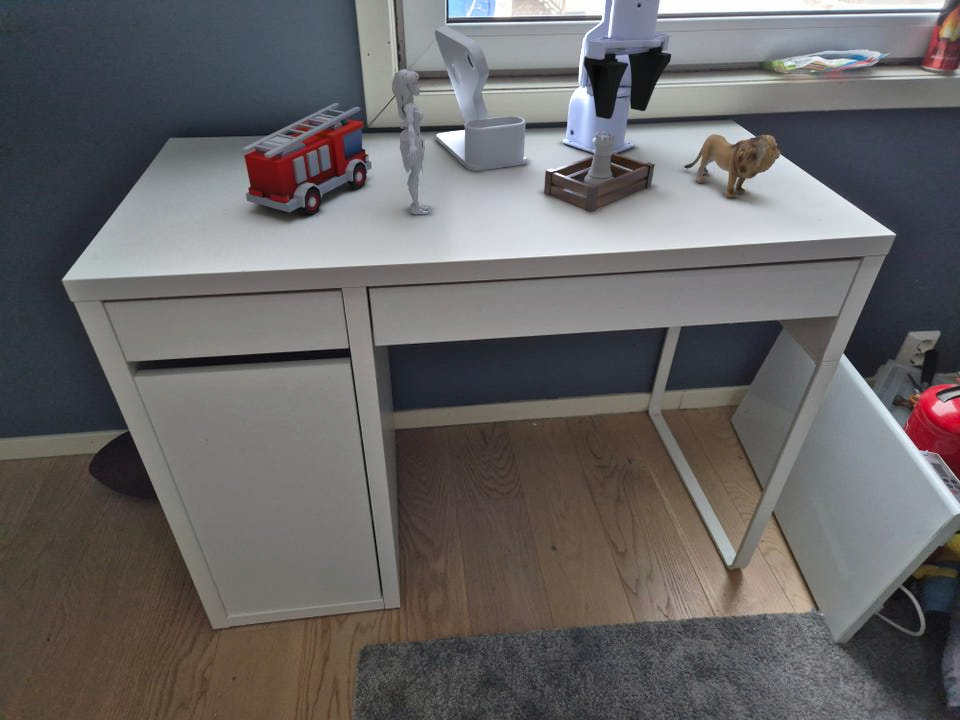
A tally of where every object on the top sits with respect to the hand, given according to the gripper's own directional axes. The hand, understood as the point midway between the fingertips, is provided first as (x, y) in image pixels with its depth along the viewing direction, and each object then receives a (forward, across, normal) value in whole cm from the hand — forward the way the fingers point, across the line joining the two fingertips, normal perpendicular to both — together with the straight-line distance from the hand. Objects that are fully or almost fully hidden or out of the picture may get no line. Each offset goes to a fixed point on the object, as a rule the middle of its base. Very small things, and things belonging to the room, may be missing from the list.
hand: (621, 113), depth 87 cm
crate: (+11, +1, +3) cm, 12 cm away
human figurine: (+12, -24, +14) cm, 31 cm away
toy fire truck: (+12, -31, +28) cm, 44 cm away
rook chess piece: (+11, +1, +3) cm, 12 cm away
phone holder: (+10, -1, +26) cm, 28 cm away
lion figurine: (+11, +16, -9) cm, 21 cm away
